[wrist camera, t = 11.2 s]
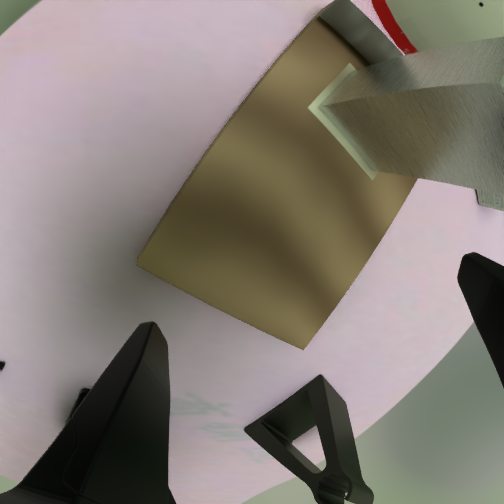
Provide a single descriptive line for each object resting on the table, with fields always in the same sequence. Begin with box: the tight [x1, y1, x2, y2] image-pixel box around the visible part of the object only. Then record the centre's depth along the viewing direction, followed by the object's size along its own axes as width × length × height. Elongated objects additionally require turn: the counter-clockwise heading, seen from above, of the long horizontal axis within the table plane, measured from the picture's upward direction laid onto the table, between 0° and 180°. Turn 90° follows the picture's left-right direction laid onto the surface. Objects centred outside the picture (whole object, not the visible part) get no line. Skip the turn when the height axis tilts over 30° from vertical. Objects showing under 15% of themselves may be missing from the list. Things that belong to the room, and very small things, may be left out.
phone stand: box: [244, 375, 374, 504], centre depth 22 cm, size 9×6×12 cm, turn 125°
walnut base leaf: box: [137, 0, 418, 350], centre depth 19 cm, size 22×14×4 cm, turn 144°
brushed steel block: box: [317, 37, 504, 196], centre depth 13 cm, size 5×6×13 cm
